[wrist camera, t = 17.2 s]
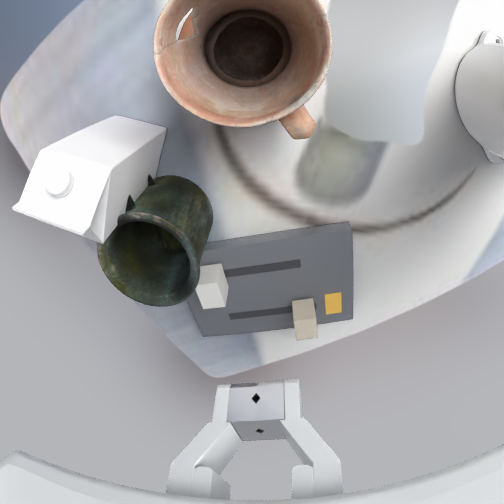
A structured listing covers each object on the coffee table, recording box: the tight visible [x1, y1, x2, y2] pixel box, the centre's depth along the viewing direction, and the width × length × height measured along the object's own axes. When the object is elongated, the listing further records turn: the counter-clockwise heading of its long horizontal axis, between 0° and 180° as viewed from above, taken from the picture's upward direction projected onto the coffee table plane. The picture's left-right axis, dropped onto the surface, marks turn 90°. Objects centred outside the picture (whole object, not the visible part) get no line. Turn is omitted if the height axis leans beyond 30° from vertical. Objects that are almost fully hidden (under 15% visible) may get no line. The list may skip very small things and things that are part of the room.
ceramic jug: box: [153, 0, 332, 139], centre depth 23 cm, size 18×14×14 cm
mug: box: [97, 174, 213, 307], centre depth 34 cm, size 11×15×12 cm
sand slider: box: [292, 298, 318, 340], centre depth 43 cm, size 3×4×4 cm
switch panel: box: [187, 221, 353, 337], centre depth 44 cm, size 24×16×2 cm, turn 101°
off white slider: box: [195, 263, 229, 309], centre depth 40 cm, size 3×4×4 cm
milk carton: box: [12, 115, 167, 244], centre depth 27 cm, size 7×7×19 cm
